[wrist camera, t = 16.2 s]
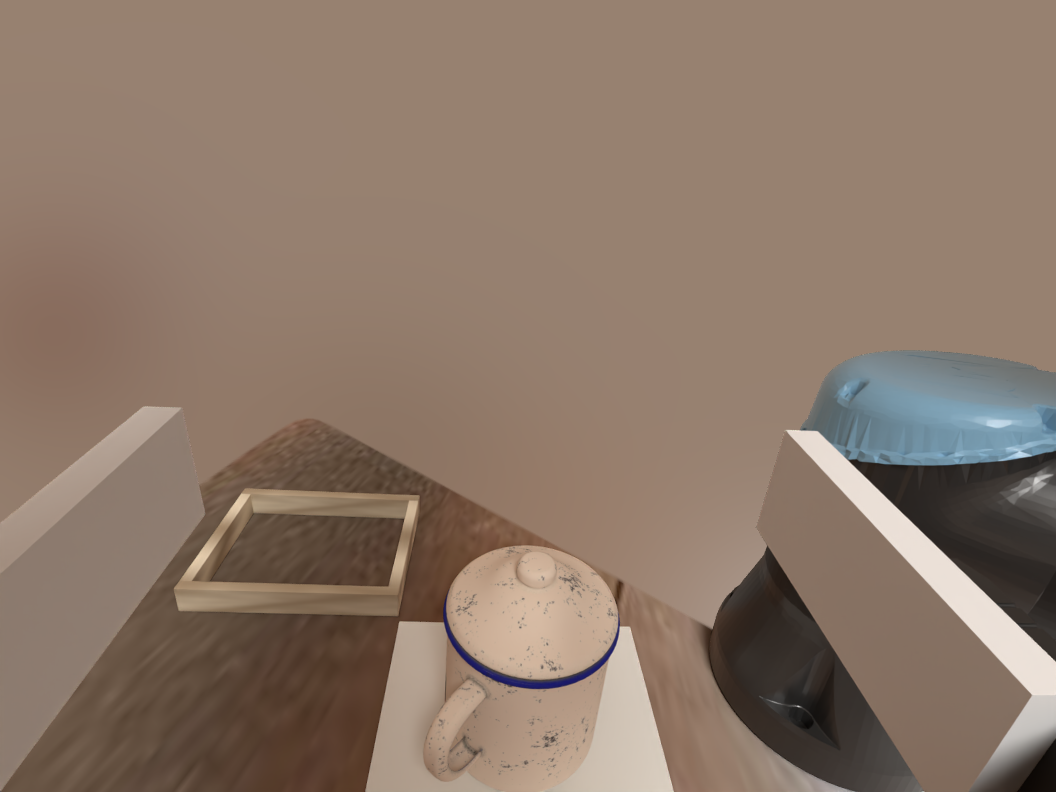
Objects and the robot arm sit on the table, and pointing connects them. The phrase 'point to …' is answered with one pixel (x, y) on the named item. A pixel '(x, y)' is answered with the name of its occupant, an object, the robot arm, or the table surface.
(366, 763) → the table surface
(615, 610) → the teacup with lid
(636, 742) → the ceramic board
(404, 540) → the cup holder
